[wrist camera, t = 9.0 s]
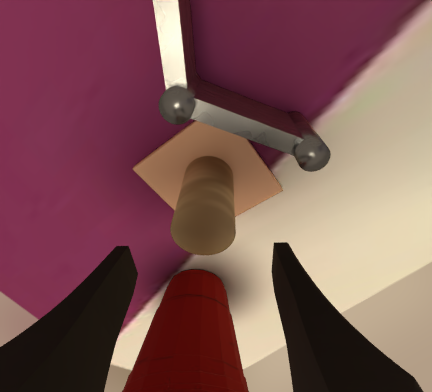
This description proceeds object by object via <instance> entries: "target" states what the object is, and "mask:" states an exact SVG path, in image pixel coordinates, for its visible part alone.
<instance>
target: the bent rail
mask: <svg viewBox="0 0 432 392" xmlns="http://www.w3.org/2000/svg"><path fill="white" fill-rule="evenodd" d="M153 4H154V11H155V18H156V25H157V31H158V38H159V45H160V52H161V59H162V66H163V72H164V79H165V86H166V91H165V92H164V93H163V95H162V96H161V98H160V100H159V110H160V113H161V115H162V116H163V118H164V119H165V120H166V121H168V122H170V123H172V124H183V123H185V122H187V121H188V120H189V119H190V118H191V119H193V120H196V121H199V122H202V123H204V124H207V125H210V126H213V127H216V128H218V129H221V130H224V131H227V132H229V133H232V134H235V135H238V136H241V137H243V138H246V139H249V140H252V141H254V142H257V143H260V144H263V145H266V146H268V147H271V148H274V149H277V150H279V151H282V152H285V153H288V154H291V155H293V156H295V158H296V160H297V162H298V164H299V166H300V167H301V168H302V169H303V170H305V171H310V172H312V171H317V170H320V169H321V168H323V167H324V166H325V165H326V164H327V163H328V161H329V159H330V150H329V148H328V147H327V146H326V144H325V143H324V142H323V140H322V139H321V138H320V137H319V135H318V134H317V133H316V132H315V130H314V129H313V128H312V126H311V125H310V124H309V123H308V121H307V120H306V119H305V118H304V116H303V115H302V114H301V113H299V112H296V111H293V112H289V113H286V112H283V111H281V110H278V109H276V108H273V107H271V106H268V105H265V104H263V103H260V102H258V101H255V100H253V99H250V98H247V97H245V96H242V95H240V94H237V93H234V92H232V91H229V90H227V89H224V88H222V87H219V86H216V85H214V84H211V83H209V82H206V81H203V80H201V78H200V76H199V75H198V74H197V73H196V65H195V53H194V42H193V30H192V18H191V6H190V0H153Z"/></svg>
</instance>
